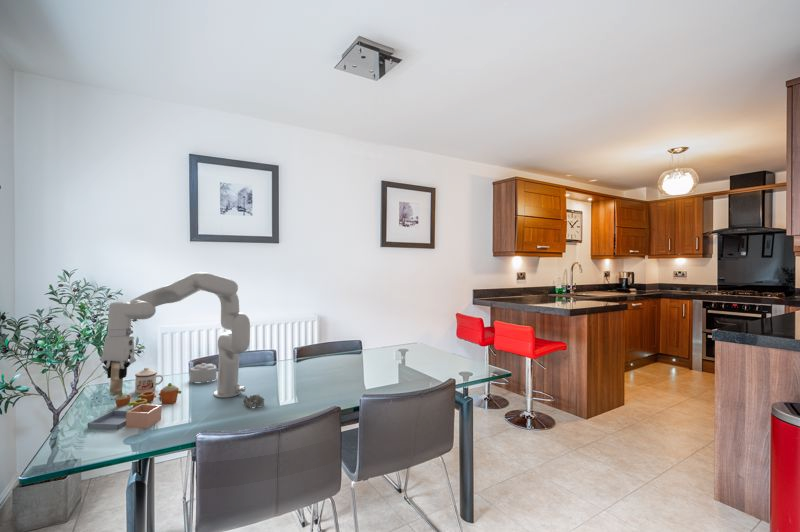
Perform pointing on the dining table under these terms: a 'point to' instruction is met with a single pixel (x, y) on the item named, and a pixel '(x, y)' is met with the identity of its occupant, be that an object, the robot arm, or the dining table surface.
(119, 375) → the robot arm
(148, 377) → the teacup with lid
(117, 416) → the tray
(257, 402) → the dark mottled rough lump
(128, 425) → the salmon pink open bin
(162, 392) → the toy tea set
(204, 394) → the dining table surface
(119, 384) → the dowel
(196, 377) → the lumpy-topped squat cylinder
